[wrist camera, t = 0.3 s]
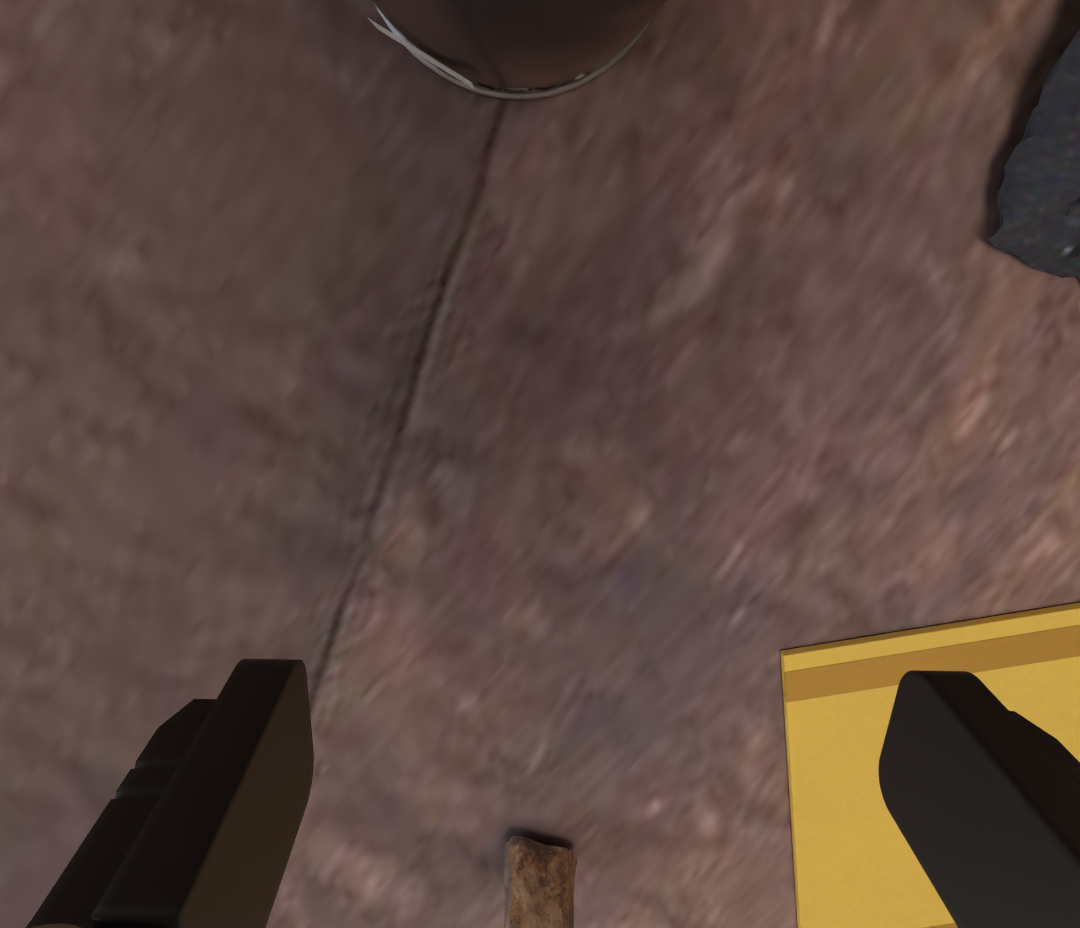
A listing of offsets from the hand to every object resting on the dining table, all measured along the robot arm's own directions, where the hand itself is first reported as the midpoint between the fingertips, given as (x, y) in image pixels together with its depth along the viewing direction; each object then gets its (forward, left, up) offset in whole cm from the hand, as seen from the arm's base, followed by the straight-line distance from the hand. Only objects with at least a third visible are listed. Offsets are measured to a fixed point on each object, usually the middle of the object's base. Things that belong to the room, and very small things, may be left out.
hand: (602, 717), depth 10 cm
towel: (+19, +20, -17) cm, 32 cm away
